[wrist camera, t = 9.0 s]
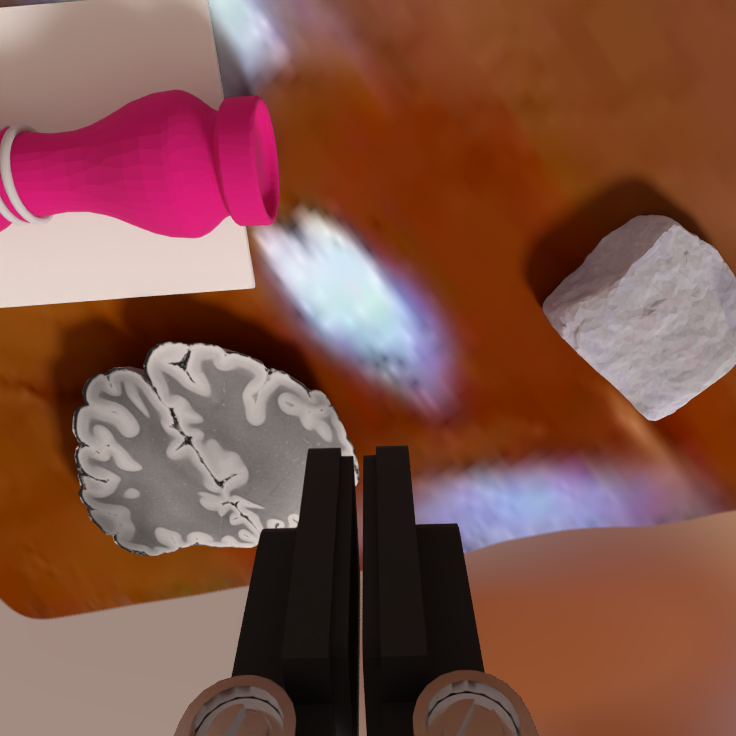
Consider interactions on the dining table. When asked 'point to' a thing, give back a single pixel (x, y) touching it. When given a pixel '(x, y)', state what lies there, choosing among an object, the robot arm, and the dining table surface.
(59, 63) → the white mat
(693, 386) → the stone block
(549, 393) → the dining table surface
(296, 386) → the brain slice
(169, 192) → the pepper mill
